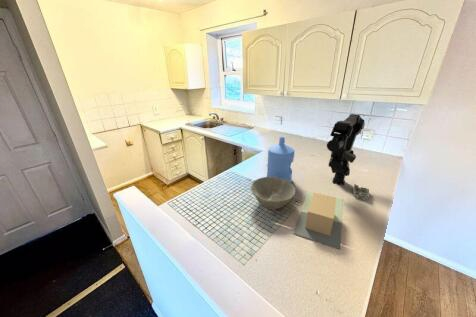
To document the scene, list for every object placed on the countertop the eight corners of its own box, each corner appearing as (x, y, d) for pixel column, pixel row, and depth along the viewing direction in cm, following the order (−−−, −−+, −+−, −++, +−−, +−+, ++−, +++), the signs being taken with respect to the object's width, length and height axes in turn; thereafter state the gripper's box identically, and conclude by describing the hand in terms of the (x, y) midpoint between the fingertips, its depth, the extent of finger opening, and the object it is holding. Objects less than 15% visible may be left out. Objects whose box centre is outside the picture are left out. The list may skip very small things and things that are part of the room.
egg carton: (352, 189, 114) (354, 183, 112) (367, 192, 110) (369, 186, 109) (351, 198, 105) (353, 191, 104) (367, 202, 102) (369, 195, 100)
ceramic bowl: (286, 190, 113) (288, 175, 109) (299, 217, 92) (302, 200, 88) (248, 192, 112) (248, 176, 108) (253, 219, 91) (253, 201, 87)
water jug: (272, 187, 116) (275, 143, 105) (262, 175, 130) (264, 135, 118) (296, 183, 120) (301, 140, 108) (284, 172, 133) (287, 133, 122)
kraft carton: (311, 207, 98) (313, 192, 94) (332, 213, 94) (336, 197, 90) (305, 227, 85) (307, 211, 81) (329, 235, 81) (333, 218, 77)
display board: (307, 191, 112) (308, 191, 111) (342, 199, 104) (343, 199, 104) (293, 233, 83) (293, 233, 82) (340, 249, 75) (340, 249, 75)
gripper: (357, 155, 89) (350, 184, 96) (356, 142, 105) (350, 168, 111) (331, 151, 94) (325, 179, 101) (333, 140, 109) (328, 165, 116)
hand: (333, 172), depth 107 cm, fingers closed
